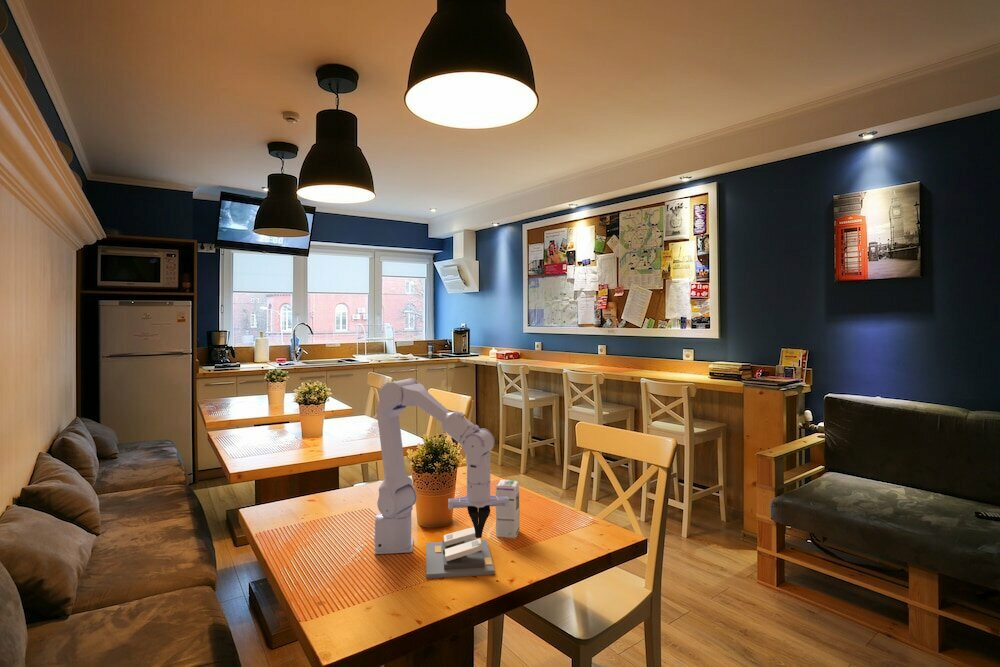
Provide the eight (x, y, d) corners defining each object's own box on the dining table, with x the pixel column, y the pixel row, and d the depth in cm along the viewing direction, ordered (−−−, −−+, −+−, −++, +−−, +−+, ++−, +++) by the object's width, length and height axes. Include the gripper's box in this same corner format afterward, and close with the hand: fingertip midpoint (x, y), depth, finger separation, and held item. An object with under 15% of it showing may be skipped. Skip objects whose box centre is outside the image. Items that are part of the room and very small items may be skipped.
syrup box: (516, 539, 144) (516, 486, 143) (495, 537, 145) (495, 484, 144) (519, 530, 149) (520, 480, 149) (499, 528, 150) (499, 478, 150)
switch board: (426, 578, 122) (426, 564, 121) (426, 546, 138) (426, 534, 138) (494, 574, 124) (494, 561, 124) (486, 543, 141) (486, 531, 140)
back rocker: (445, 546, 133) (444, 541, 132) (444, 539, 136) (443, 534, 136) (479, 536, 134) (478, 531, 134) (478, 530, 138) (477, 525, 138)
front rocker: (446, 561, 125) (445, 556, 125) (446, 553, 129) (444, 549, 128) (483, 549, 126) (481, 544, 126) (481, 542, 130) (480, 537, 130)
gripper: (449, 487, 122) (449, 544, 123) (510, 484, 124) (510, 541, 124) (448, 478, 129) (447, 532, 129) (506, 475, 131) (506, 529, 131)
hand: (478, 536), depth 127 cm, fingers closed
